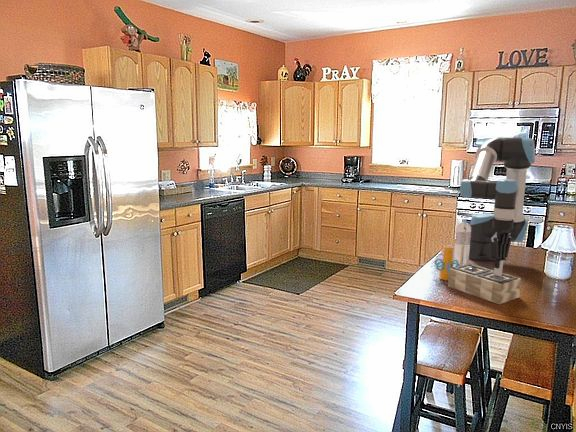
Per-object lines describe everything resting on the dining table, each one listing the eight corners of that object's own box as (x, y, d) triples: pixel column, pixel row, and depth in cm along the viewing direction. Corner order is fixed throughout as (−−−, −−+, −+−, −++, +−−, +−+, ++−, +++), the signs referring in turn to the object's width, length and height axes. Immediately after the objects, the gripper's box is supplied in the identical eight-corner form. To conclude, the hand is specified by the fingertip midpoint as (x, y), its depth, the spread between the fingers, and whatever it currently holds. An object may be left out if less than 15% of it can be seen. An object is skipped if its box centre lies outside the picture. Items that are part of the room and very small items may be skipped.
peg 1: (468, 283, 199) (470, 266, 197) (476, 286, 195) (478, 268, 194) (463, 285, 196) (464, 267, 195) (471, 288, 193) (472, 270, 192)
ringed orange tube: (460, 283, 200) (463, 251, 197) (435, 282, 202) (438, 249, 199) (456, 275, 212) (458, 244, 209) (432, 273, 214) (435, 242, 211)
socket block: (467, 280, 205) (469, 262, 203) (519, 297, 185) (521, 277, 183) (447, 286, 197) (449, 267, 196) (499, 304, 178) (501, 283, 176)
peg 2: (494, 292, 189) (495, 273, 187) (503, 294, 185) (505, 276, 184) (488, 293, 187) (490, 275, 185) (497, 296, 183) (499, 278, 182)
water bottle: (463, 272, 216) (468, 221, 211) (450, 269, 221) (454, 219, 216) (470, 269, 220) (475, 219, 215) (457, 266, 225) (461, 217, 220)
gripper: (504, 215, 186) (498, 270, 191) (484, 218, 179) (479, 275, 184) (521, 218, 180) (515, 275, 185) (502, 221, 173) (496, 280, 178)
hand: (497, 275), depth 184 cm, fingers closed
